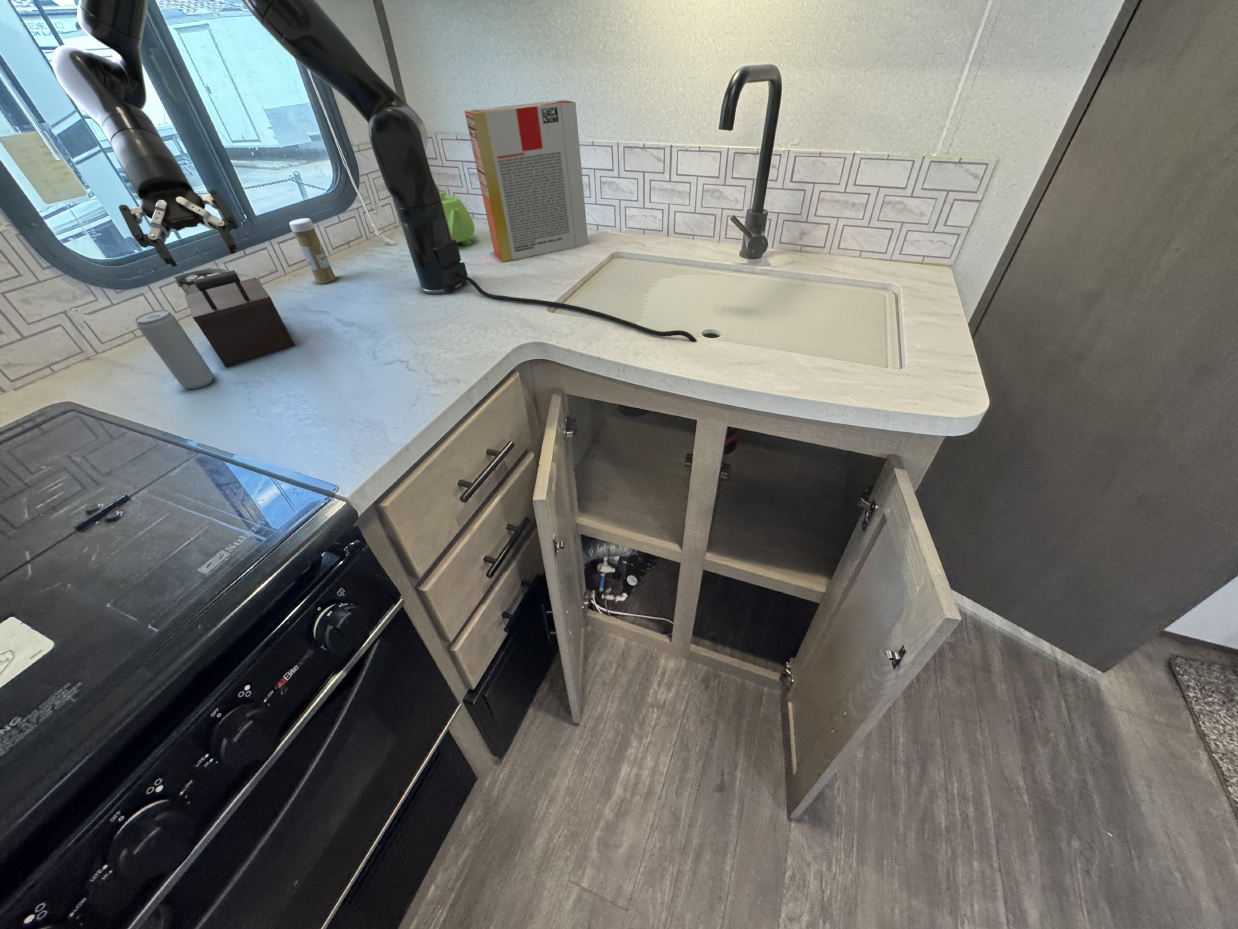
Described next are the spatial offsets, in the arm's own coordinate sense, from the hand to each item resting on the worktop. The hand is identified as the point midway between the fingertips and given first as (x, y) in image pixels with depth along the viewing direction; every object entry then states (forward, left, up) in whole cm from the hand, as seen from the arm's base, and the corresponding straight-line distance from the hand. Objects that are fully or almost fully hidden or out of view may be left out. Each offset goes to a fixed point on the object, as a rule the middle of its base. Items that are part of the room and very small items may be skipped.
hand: (203, 257), depth 82 cm
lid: (+1, 0, -8) cm, 8 cm away
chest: (+1, -1, -16) cm, 17 cm away
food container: (+15, -6, -17) cm, 24 cm away
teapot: (+4, -62, -17) cm, 64 cm away
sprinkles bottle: (+16, -30, -17) cm, 38 cm away
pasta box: (-23, -65, -17) cm, 71 cm away
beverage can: (-3, +12, -17) cm, 21 cm away
